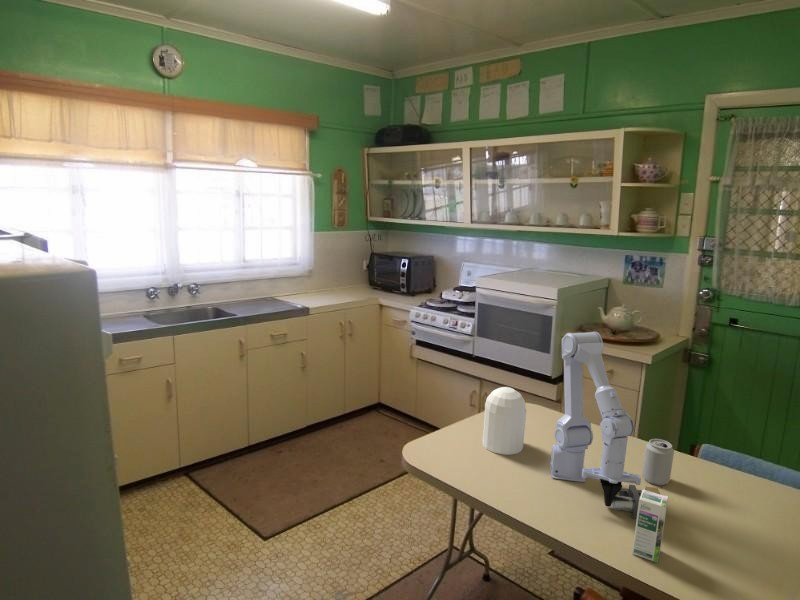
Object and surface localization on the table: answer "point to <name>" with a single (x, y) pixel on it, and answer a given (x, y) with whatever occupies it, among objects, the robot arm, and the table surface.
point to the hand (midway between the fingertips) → (607, 504)
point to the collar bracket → (635, 496)
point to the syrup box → (649, 525)
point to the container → (504, 421)
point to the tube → (623, 503)
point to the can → (658, 462)
